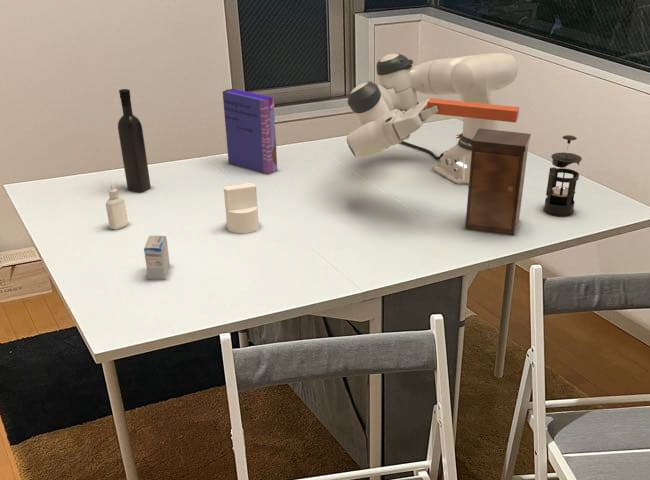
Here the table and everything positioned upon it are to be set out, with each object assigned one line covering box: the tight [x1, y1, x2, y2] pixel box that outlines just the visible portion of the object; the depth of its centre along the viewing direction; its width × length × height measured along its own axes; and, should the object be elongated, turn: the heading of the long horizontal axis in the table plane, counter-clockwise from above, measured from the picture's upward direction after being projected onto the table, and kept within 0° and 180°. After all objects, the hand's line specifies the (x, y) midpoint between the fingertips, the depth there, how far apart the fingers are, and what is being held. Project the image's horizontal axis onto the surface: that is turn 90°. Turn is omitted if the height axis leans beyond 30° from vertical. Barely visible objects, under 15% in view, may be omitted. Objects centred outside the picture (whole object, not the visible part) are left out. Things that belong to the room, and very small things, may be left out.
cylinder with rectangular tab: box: [223, 182, 260, 234], centre depth 233 cm, size 9×9×12 cm
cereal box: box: [222, 88, 278, 175], centre depth 272 cm, size 17×5×24 cm, turn 58°
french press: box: [542, 134, 583, 218], centre depth 248 cm, size 12×9×23 cm
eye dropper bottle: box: [105, 184, 129, 231], centre depth 231 cm, size 4×6×12 cm
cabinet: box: [464, 128, 532, 236], centre depth 236 cm, size 15×13×26 cm
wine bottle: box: [117, 88, 152, 193], centre depth 250 cm, size 6×6×30 cm
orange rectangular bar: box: [427, 97, 520, 124], centre depth 227 cm, size 25×4×3 cm, turn 76°
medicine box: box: [143, 235, 171, 280], centre depth 208 cm, size 8×4×9 cm, turn 5°
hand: (440, 105), depth 228 cm, fingers closed on orange rectangular bar, 4 cm apart
